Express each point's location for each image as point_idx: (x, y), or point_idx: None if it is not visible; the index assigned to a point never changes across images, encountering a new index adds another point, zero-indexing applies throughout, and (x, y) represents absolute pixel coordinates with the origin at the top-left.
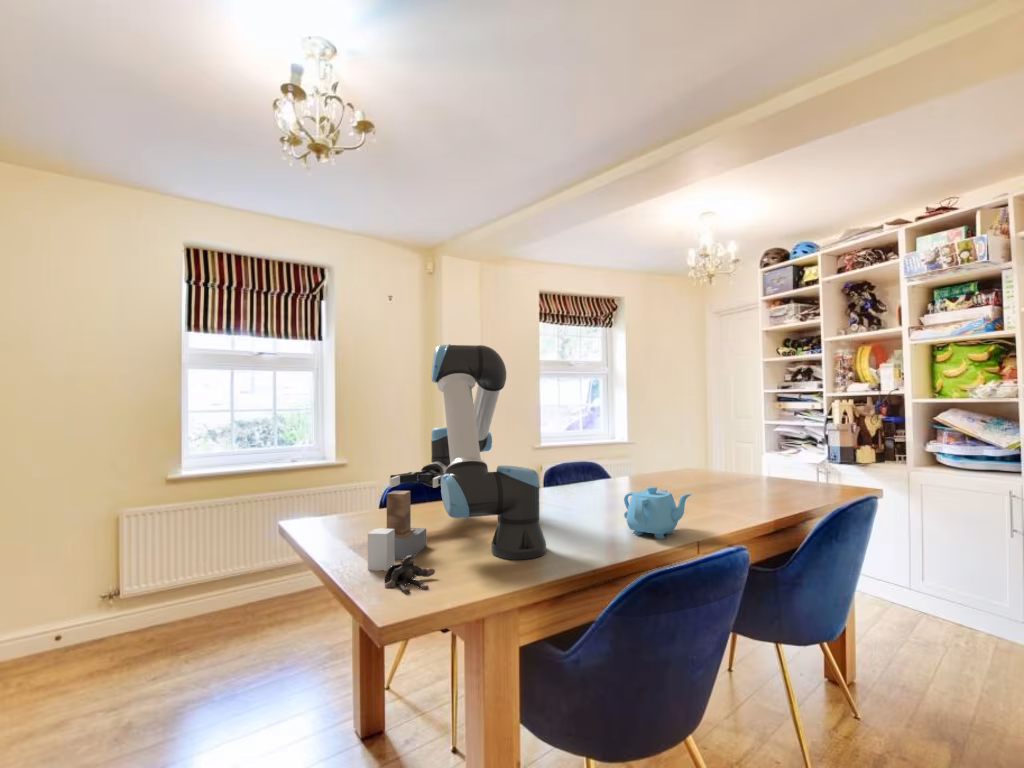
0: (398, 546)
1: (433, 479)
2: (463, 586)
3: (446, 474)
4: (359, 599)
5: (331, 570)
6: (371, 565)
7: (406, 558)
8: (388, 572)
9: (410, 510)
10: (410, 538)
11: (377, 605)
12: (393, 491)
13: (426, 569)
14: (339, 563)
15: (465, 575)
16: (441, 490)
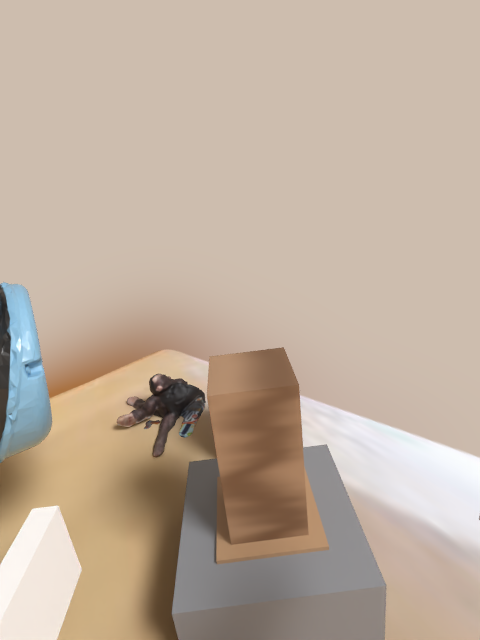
0: None
1: (51, 513)
2: (69, 420)
3: (10, 284)
4: None
5: (341, 414)
6: None
7: (161, 374)
8: (198, 391)
9: (220, 476)
10: (197, 471)
11: (186, 365)
12: (285, 374)
13: (132, 411)
14: (363, 441)
15: (56, 453)
16: (43, 369)
